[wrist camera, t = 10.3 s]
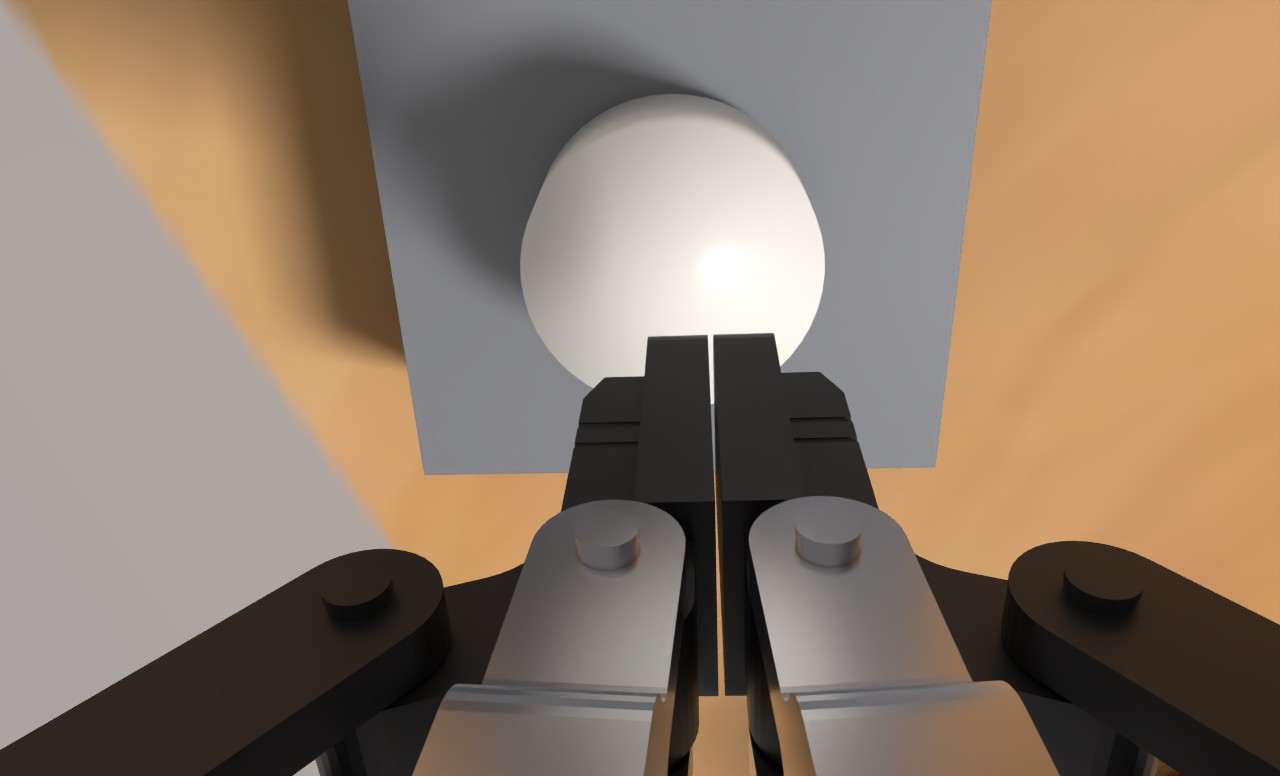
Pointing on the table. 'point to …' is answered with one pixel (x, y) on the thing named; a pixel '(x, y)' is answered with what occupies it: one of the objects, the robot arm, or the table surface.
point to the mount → (653, 65)
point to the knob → (669, 237)
